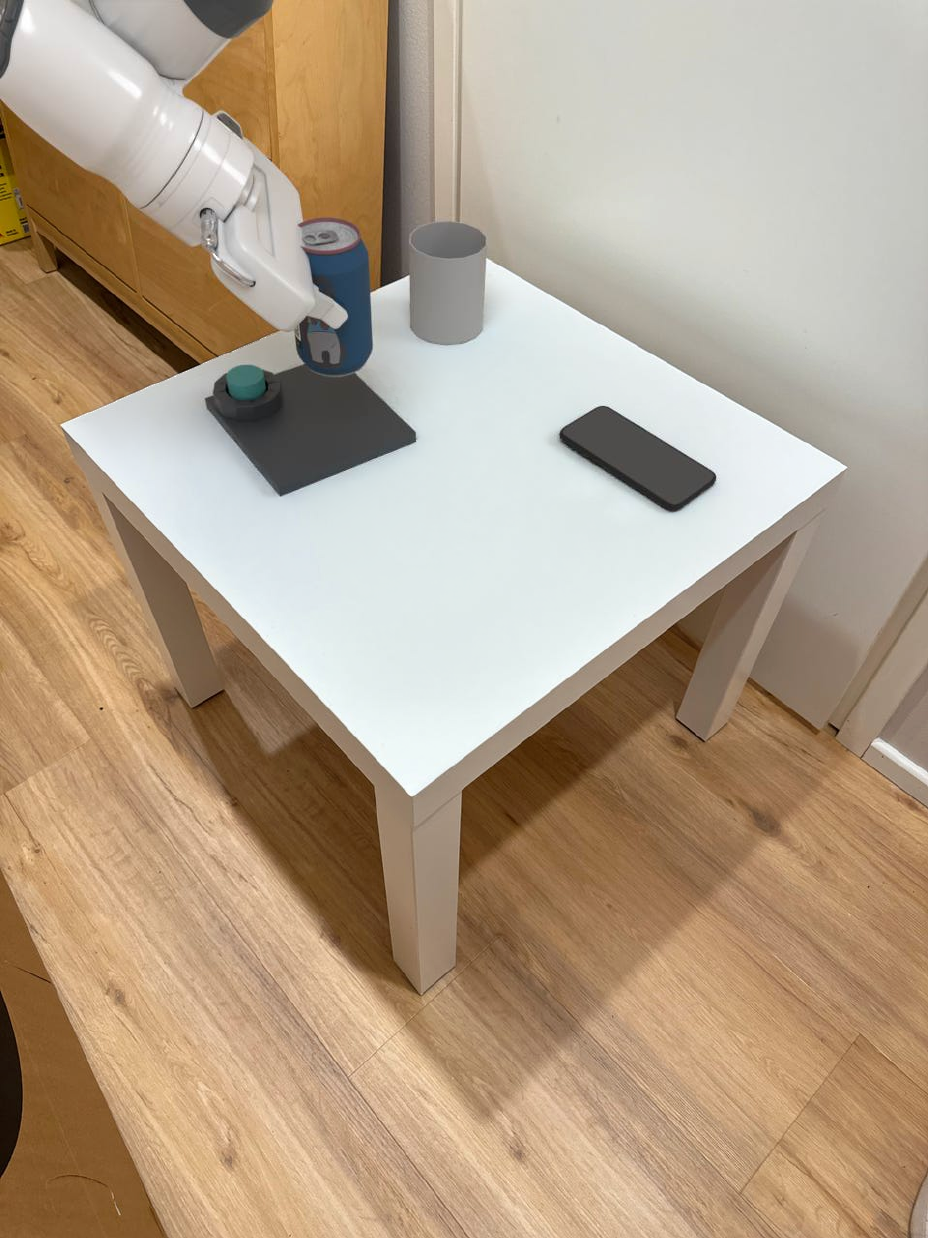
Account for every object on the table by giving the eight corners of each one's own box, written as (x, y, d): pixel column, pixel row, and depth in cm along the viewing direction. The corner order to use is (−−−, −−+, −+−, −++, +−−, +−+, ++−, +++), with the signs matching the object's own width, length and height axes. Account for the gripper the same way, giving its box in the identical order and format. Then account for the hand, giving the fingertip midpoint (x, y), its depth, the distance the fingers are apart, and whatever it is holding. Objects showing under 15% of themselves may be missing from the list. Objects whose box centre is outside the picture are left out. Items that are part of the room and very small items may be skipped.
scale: (280, 496, 84) (276, 471, 82) (205, 406, 93) (200, 381, 90) (416, 441, 90) (416, 416, 88) (334, 361, 99) (332, 337, 96)
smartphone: (675, 510, 84) (554, 431, 90) (673, 517, 84) (553, 438, 91) (722, 474, 87) (602, 401, 94) (719, 482, 88) (601, 408, 94)
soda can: (358, 332, 87) (351, 208, 78) (384, 372, 83) (379, 246, 74) (288, 347, 85) (272, 221, 76) (310, 388, 81) (297, 260, 72)
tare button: (238, 405, 89) (236, 389, 87) (222, 386, 91) (219, 371, 89) (272, 393, 90) (270, 378, 89) (255, 375, 92) (253, 360, 91)
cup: (399, 312, 105) (397, 228, 98) (463, 298, 108) (466, 215, 100) (428, 351, 100) (428, 265, 93) (495, 335, 103) (500, 250, 95)
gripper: (229, 217, 62) (377, 334, 71) (224, 101, 75) (349, 212, 84) (176, 282, 65) (324, 386, 74) (179, 159, 78) (305, 260, 87)
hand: (337, 292), depth 79 cm, fingers closed on soda can, 7 cm apart
